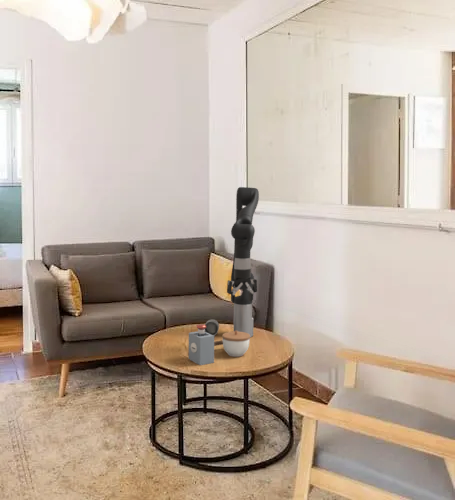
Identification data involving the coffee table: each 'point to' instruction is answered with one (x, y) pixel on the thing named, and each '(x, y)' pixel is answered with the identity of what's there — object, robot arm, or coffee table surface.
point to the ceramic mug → (212, 327)
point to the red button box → (201, 348)
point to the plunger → (201, 329)
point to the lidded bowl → (236, 343)
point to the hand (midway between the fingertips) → (241, 302)
